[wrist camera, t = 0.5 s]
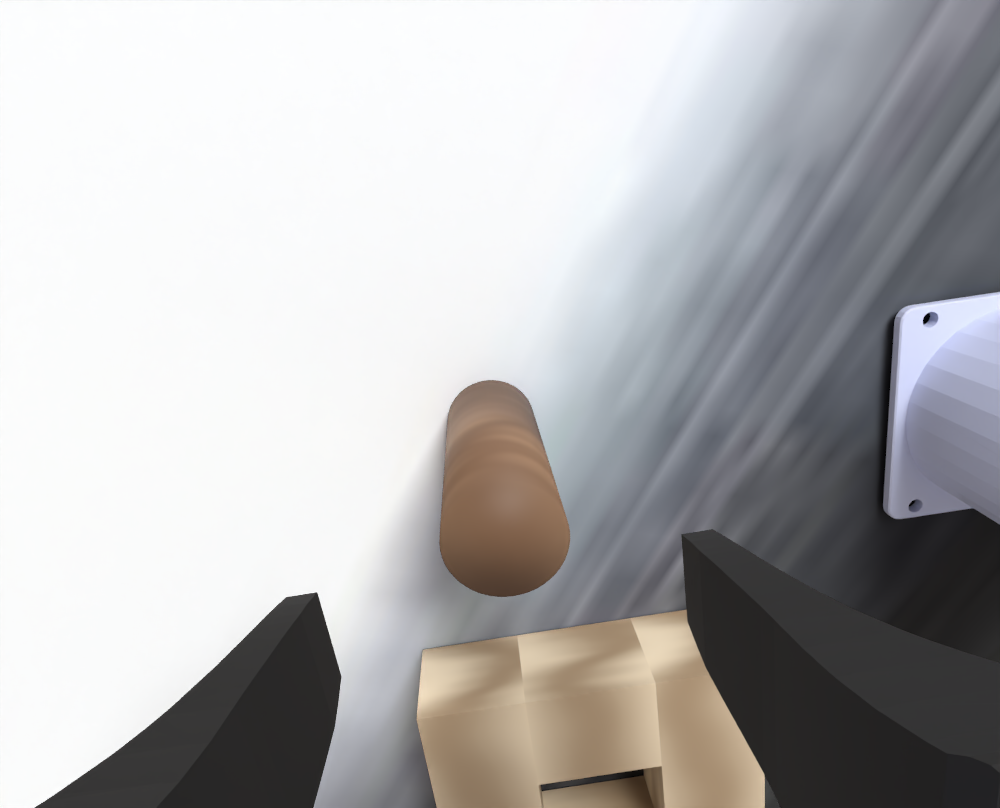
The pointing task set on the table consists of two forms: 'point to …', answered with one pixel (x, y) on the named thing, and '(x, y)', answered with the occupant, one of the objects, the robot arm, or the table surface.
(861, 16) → the table surface
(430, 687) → the holder block
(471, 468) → the peg
